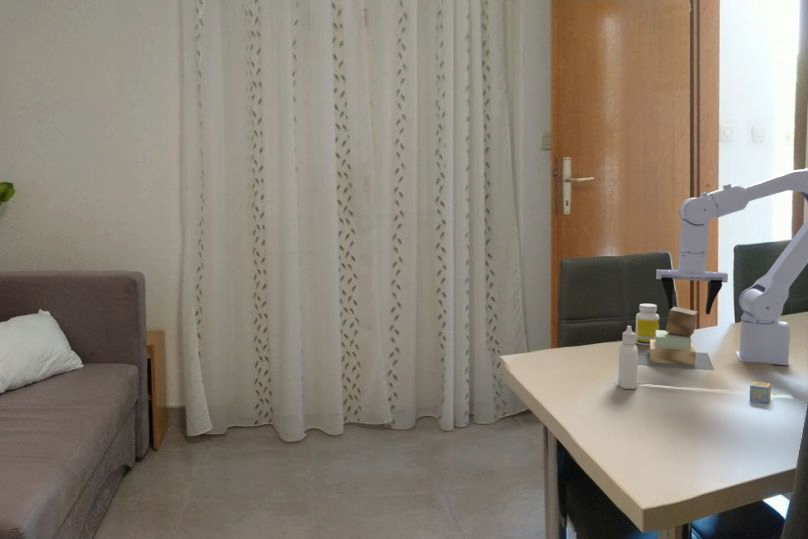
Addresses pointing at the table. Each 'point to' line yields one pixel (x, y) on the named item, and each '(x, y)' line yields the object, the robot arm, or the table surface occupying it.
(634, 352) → the eye dropper bottle
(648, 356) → the mat
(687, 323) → the walnut cube
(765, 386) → the alphabet block
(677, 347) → the tower top
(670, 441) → the table surface
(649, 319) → the supplement bottle
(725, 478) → the table surface
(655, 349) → the tower base
